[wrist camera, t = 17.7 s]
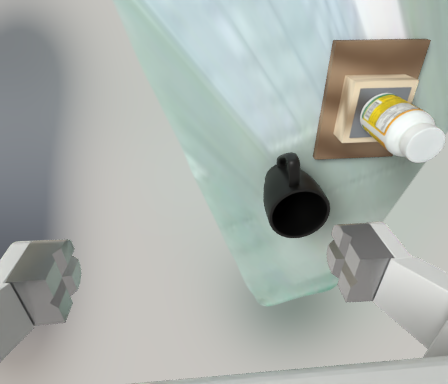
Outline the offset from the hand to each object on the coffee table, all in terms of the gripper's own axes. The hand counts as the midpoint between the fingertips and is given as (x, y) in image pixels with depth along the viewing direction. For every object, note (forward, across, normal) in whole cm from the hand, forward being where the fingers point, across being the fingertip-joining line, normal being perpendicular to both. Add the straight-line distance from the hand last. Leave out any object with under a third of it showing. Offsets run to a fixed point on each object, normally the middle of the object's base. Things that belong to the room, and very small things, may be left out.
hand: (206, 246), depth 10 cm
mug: (+34, -12, +17) cm, 40 cm away
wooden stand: (+34, -23, +7) cm, 42 cm away
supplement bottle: (+30, -23, +7) cm, 38 cm away
